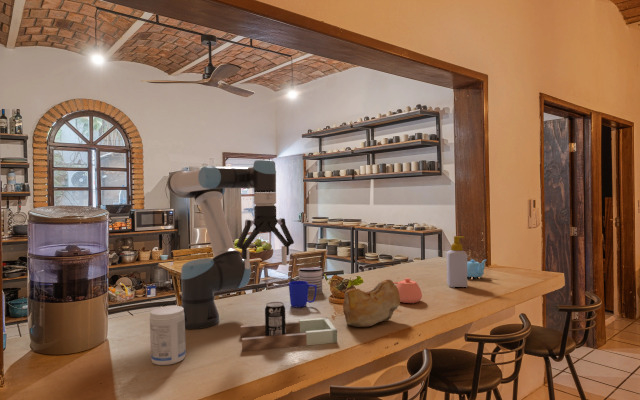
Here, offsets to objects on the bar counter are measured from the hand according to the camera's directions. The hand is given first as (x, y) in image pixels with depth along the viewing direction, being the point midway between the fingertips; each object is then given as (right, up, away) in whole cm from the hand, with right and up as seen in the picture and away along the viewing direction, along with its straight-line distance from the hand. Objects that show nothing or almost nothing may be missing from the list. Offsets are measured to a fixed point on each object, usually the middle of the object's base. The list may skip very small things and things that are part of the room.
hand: (266, 266), depth 146 cm
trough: (+3, -23, -8) cm, 24 cm away
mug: (+11, -22, +34) cm, 42 cm away
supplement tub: (-26, -24, -23) cm, 42 cm away
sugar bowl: (+56, -22, +40) cm, 72 cm away
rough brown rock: (+36, -22, +13) cm, 45 cm away
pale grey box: (+18, -23, -4) cm, 29 cm away
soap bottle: (+88, -21, +68) cm, 113 cm away
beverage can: (+4, -23, -7) cm, 25 cm away
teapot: (+103, -20, +88) cm, 137 cm away
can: (+14, -22, +59) cm, 65 cm away
